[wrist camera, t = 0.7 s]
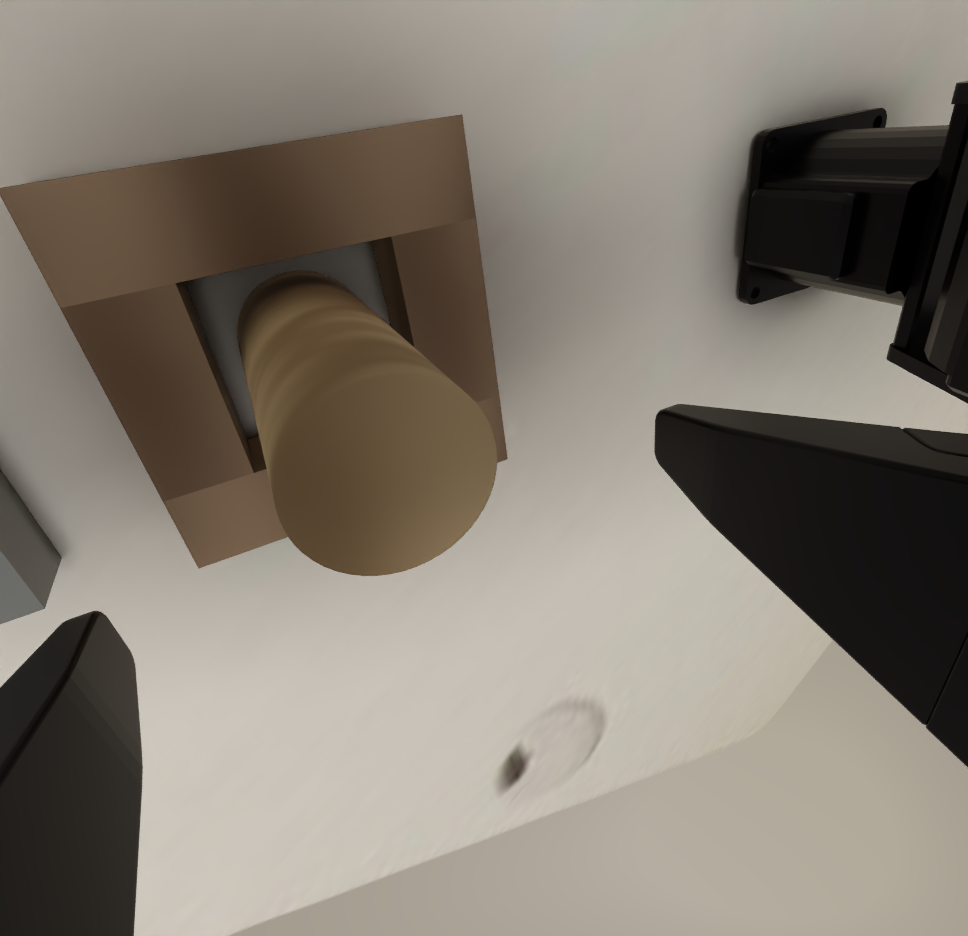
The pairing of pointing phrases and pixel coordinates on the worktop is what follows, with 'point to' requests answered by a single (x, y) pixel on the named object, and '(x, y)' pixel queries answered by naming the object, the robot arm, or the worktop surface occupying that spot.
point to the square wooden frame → (241, 244)
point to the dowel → (359, 430)
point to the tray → (23, 558)
